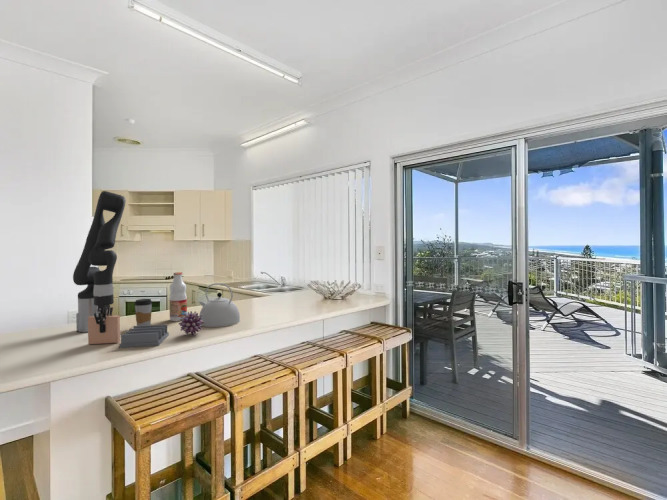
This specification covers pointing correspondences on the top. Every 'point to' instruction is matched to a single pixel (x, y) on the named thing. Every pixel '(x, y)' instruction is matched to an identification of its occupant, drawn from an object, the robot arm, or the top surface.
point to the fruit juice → (177, 298)
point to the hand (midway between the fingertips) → (104, 331)
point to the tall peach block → (107, 337)
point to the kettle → (219, 311)
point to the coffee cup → (143, 312)
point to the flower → (191, 322)
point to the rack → (144, 336)
